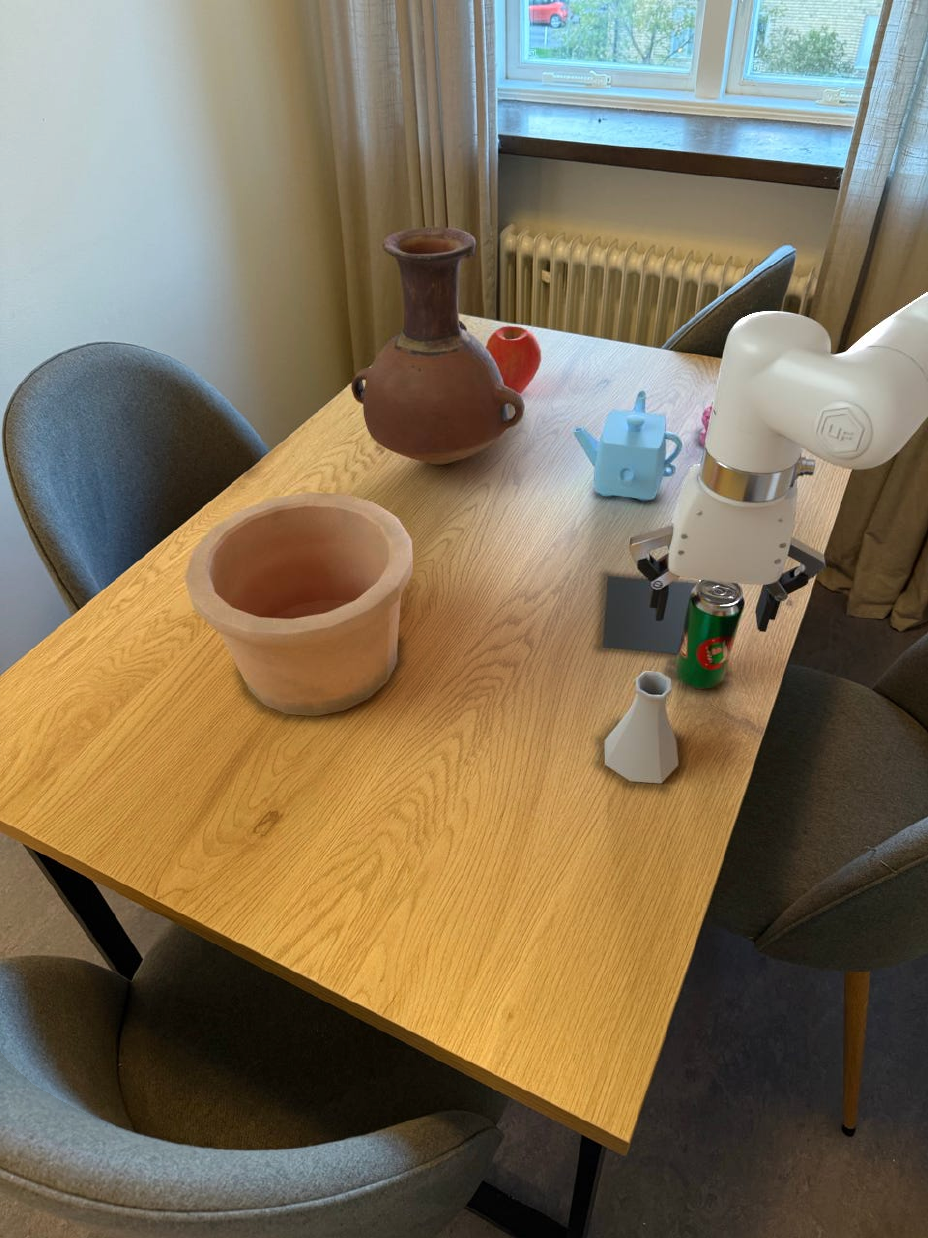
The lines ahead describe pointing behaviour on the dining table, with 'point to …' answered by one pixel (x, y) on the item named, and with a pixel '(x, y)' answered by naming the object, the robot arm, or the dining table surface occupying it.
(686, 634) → the soda can
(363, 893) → the dining table surface
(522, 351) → the apple
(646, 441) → the teapot
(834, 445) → the robot arm
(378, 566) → the pottery
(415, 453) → the vase
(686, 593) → the mat
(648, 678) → the flask
